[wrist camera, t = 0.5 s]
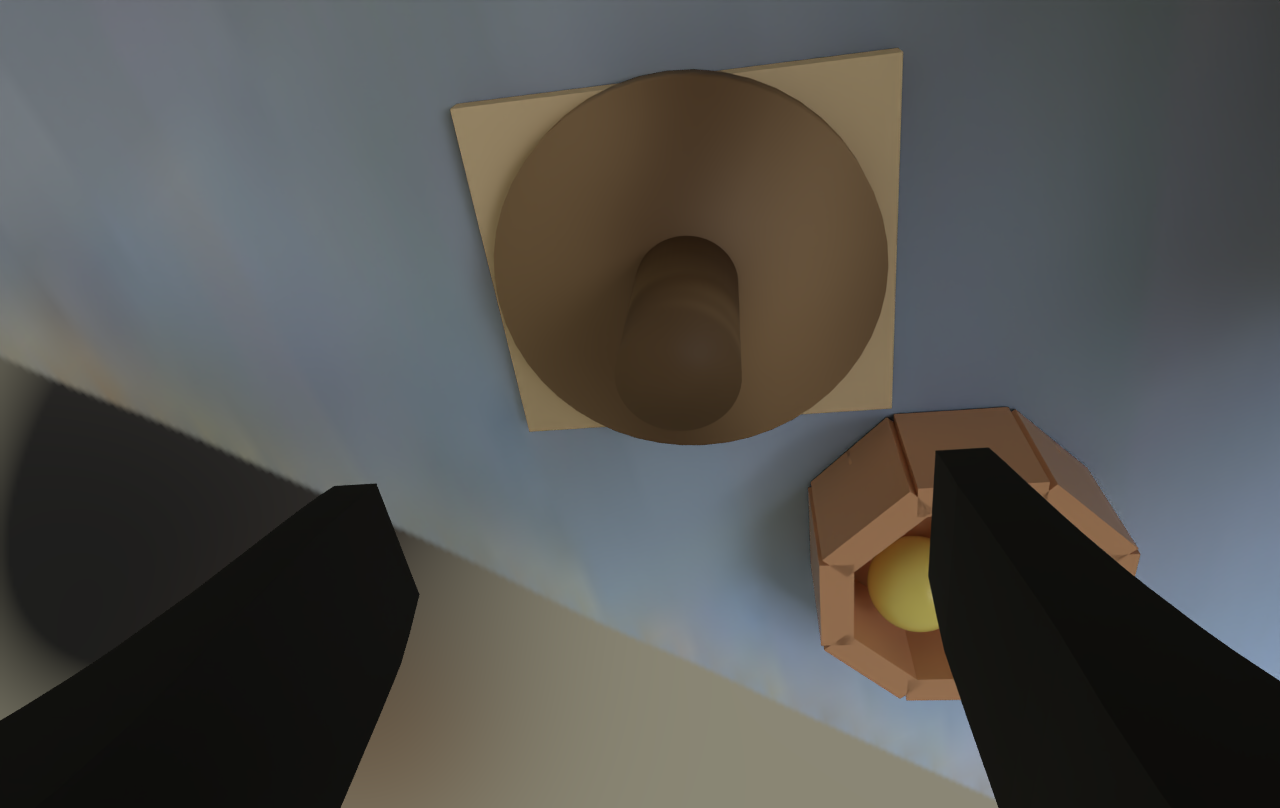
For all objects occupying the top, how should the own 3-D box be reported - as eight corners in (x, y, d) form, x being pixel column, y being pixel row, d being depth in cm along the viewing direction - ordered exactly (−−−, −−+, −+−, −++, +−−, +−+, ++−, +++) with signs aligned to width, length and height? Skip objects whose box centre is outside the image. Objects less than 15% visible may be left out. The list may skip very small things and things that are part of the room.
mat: (898, 48, 16) (903, 52, 15) (887, 397, 20) (891, 408, 19) (456, 103, 17) (449, 109, 17) (533, 420, 21) (529, 431, 21)
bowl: (1102, 401, 19) (1159, 476, 17) (1063, 609, 23) (1104, 697, 20) (806, 419, 20) (817, 493, 18) (812, 616, 24) (822, 701, 21)
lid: (886, 42, 15) (945, 95, 11) (878, 415, 20) (918, 550, 16) (461, 97, 16) (376, 162, 12) (542, 437, 21) (498, 567, 17)
